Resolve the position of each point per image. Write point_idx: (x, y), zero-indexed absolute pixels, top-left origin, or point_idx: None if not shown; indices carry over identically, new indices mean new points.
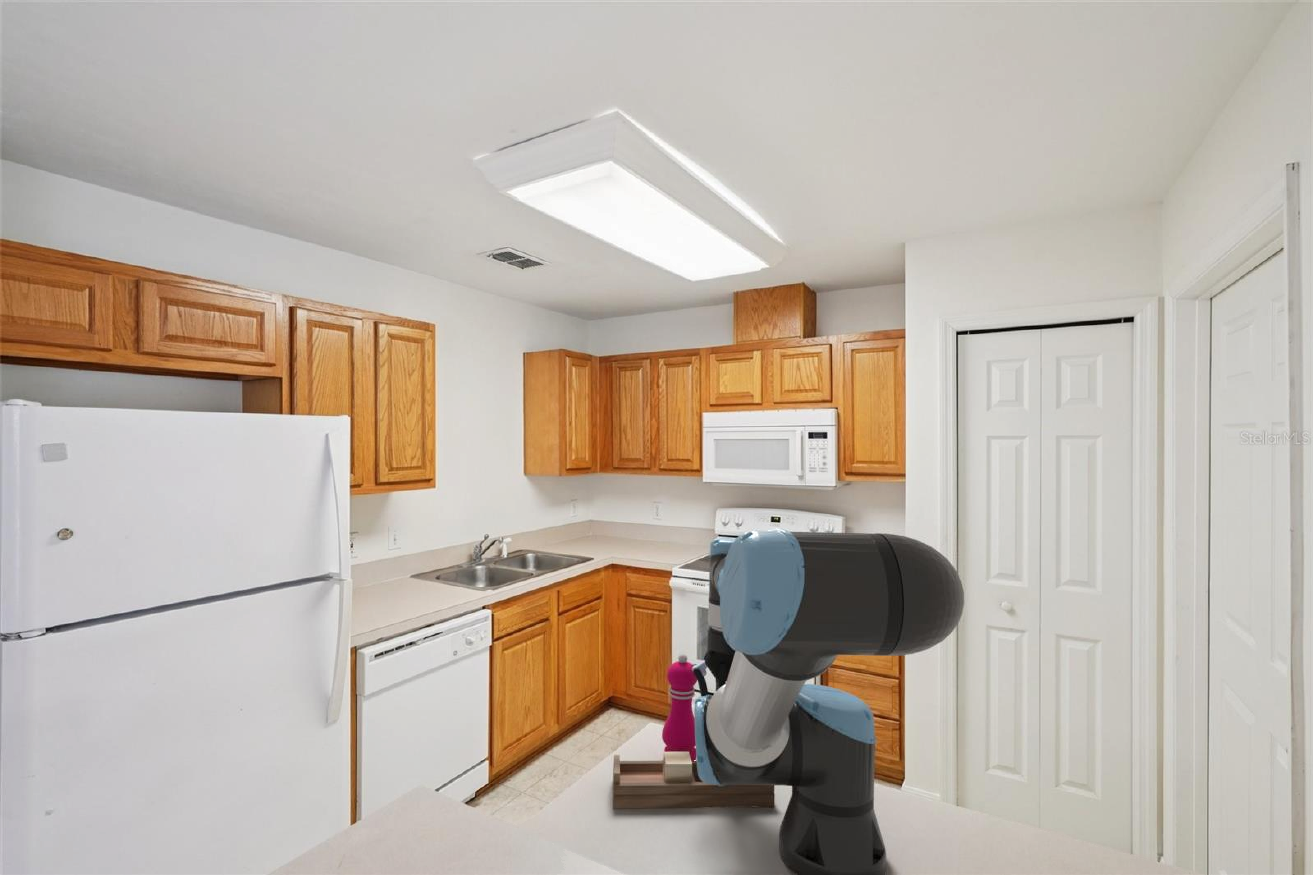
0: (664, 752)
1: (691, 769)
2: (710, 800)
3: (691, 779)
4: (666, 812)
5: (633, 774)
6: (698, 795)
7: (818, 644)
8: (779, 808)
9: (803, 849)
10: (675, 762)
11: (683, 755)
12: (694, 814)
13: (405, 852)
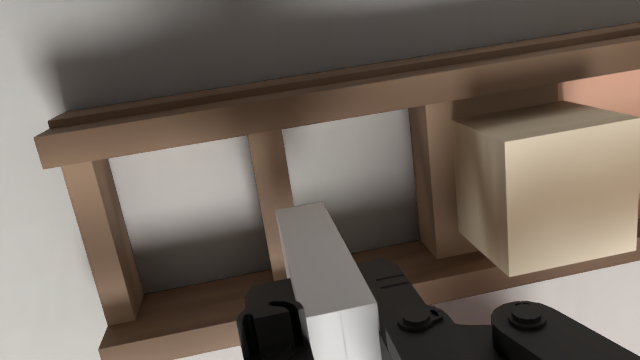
0: (632, 244)
1: (493, 134)
2: (362, 68)
3: (468, 127)
4: (533, 6)
5: None
6: (423, 61)
7: None
8: (40, 104)
9: None
10: (591, 143)
11: (540, 231)
12: (423, 4)
13: None
